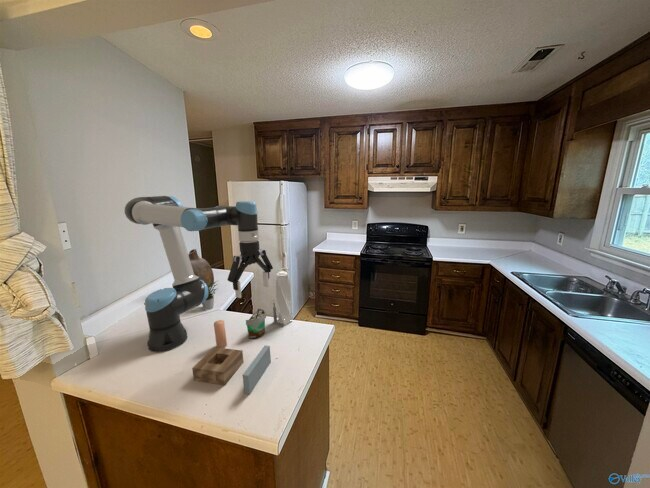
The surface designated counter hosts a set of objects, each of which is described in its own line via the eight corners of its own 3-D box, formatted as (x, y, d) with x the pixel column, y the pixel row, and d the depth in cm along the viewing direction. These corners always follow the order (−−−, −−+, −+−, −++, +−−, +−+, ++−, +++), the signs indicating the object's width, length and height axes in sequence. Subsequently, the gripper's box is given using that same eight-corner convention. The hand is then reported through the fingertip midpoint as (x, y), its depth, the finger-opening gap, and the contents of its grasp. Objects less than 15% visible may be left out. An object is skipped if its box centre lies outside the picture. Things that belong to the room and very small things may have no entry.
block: (194, 380, 89) (192, 367, 88) (215, 358, 101) (214, 347, 100) (225, 385, 87) (223, 372, 86) (243, 362, 98) (242, 350, 97)
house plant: (229, 303, 153) (226, 277, 150) (214, 314, 140) (210, 286, 137) (208, 301, 157) (205, 276, 153) (191, 312, 144) (187, 284, 140)
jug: (180, 289, 177) (174, 247, 171) (214, 284, 186) (209, 243, 180) (177, 303, 155) (170, 255, 149) (216, 296, 164) (210, 250, 158)
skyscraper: (285, 316, 136) (282, 265, 130) (296, 321, 131) (293, 268, 125) (273, 323, 130) (268, 269, 124) (283, 328, 125) (280, 272, 119)
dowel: (215, 350, 108) (211, 324, 105) (220, 345, 112) (217, 319, 109) (223, 351, 107) (220, 325, 105) (229, 346, 111) (226, 320, 108)
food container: (260, 342, 113) (258, 321, 111) (247, 341, 114) (245, 320, 112) (271, 327, 125) (270, 308, 123) (259, 326, 126) (258, 307, 124)
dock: (188, 387, 88) (185, 366, 86) (217, 357, 103) (215, 339, 102) (250, 397, 83) (248, 375, 81) (271, 364, 98) (269, 345, 96)
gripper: (225, 248, 90) (231, 304, 94) (279, 237, 109) (281, 284, 114) (214, 245, 94) (219, 299, 99) (267, 235, 114) (270, 280, 118)
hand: (253, 291), depth 106 cm, fingers open, 13 cm apart
